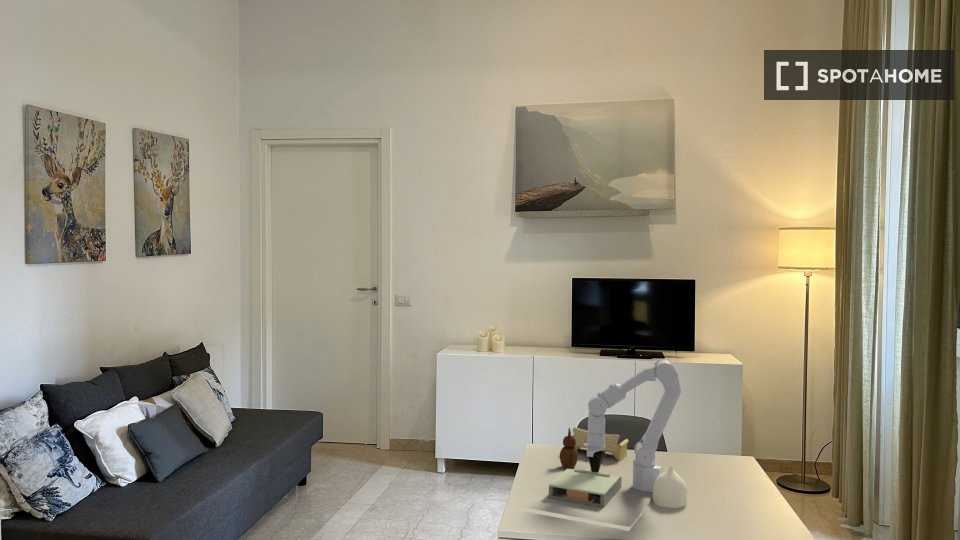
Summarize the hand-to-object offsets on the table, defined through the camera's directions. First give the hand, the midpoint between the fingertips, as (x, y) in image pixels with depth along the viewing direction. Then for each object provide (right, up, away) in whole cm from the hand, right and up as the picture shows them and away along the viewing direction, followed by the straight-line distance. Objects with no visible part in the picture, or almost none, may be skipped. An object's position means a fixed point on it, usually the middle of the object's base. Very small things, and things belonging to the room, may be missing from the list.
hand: (595, 472), depth 257 cm
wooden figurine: (-6, -4, +21) cm, 23 cm away
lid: (-5, 0, -10) cm, 11 cm away
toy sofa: (+7, -4, +39) cm, 40 cm away
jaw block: (-7, -4, -15) cm, 17 cm away
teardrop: (+22, -6, -13) cm, 26 cm away
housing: (-4, -5, -9) cm, 11 cm away
